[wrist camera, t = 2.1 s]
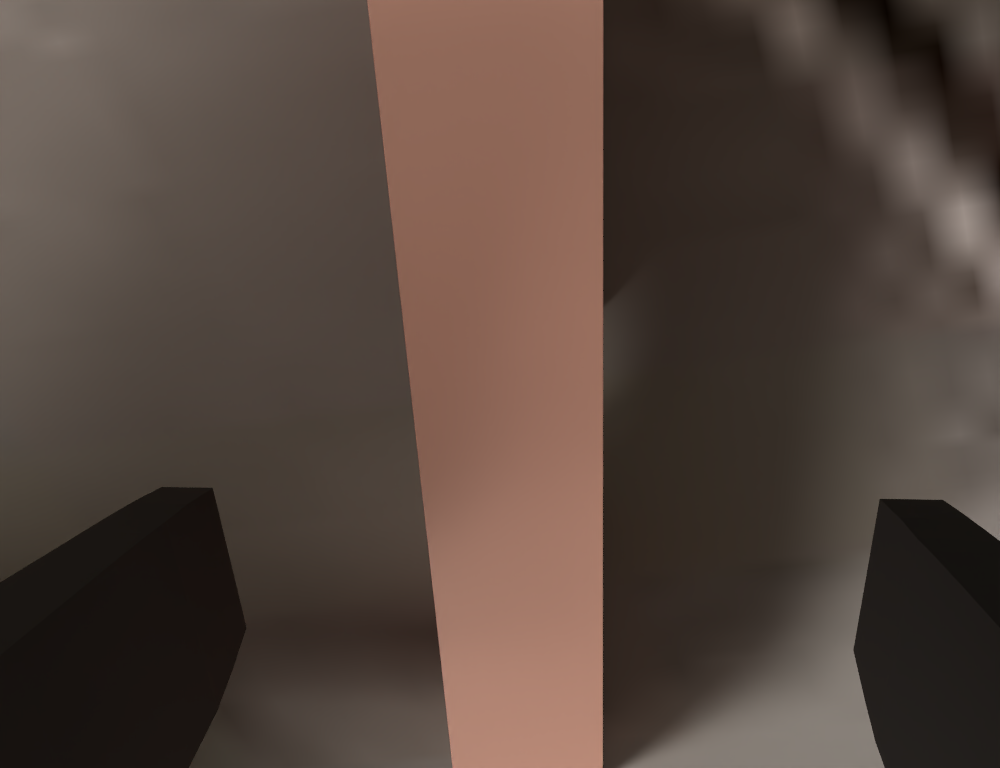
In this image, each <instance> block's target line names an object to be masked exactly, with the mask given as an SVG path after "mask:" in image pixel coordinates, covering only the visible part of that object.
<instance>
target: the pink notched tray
mask: <svg viewBox="0 0 1000 768" xmlns="http://www.w3.org/2000/svg"><path fill="white" fill-rule="evenodd" d="M367 2H368V11H369V20H370V29H371V38H372V47H373V56H374V65H375V74H376V83H377V92H378V101H379V110H380V119H381V128H382V137H383V146H384V155H385V164H386V173H387V181H388V190H389V199H390V208H391V217H392V226H393V235H394V244H395V253H396V262H397V271H398V280H399V289H400V298H401V307H402V316H403V325H404V334H405V343H406V352H407V361H408V370H409V379H410V388H411V397H412V406H413V415H414V424H415V433H416V442H417V451H418V460H419V469H420V478H421V487H422V496H423V505H424V514H425V523H426V532H427V541H428V550H429V559H430V568H431V577H432V586H433V595H434V604H435V613H436V622H437V630H438V639H439V648H440V657H441V666H442V675H443V684H444V693H445V702H446V711H447V720H448V729H449V738H450V747H451V756H452V765H453V768H603V0H367Z"/></svg>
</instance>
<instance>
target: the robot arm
mask: <svg viewBox="0 0 1000 768" xmlns="http://www.w3.org/2000/svg"><path fill="white" fill-rule="evenodd" d="M245 630H246V624H245V620H244V616H243V612H242V607H241V603H240V599H239V595H238V591H237V587H236V583H235V579H234V574H233V570H232V566H231V562H230V558H229V554H228V550H227V546H226V541H225V537H224V533H223V529H222V525H221V521H220V517H219V512H218V508H217V504H216V500H215V496H214V492H213V488H179V487H161V488H159V489H157V490H155V491H153V492H151V493H149V494H147V495H145V496H143V497H142V498H140V499H138V500H136V501H134V502H132V503H131V504H129V505H127V506H125V507H124V508H122V509H120V510H118V511H117V512H115V513H113V514H112V515H110V516H108V517H107V518H105V519H103V520H102V521H100V522H98V523H97V524H95V525H93V526H92V527H90V528H89V529H87V530H85V531H84V532H82V533H80V534H79V535H77V536H75V537H74V538H72V539H71V540H69V541H67V542H66V543H64V544H63V545H61V546H59V547H58V548H56V549H54V550H53V551H51V552H49V553H48V554H46V555H45V556H43V557H41V558H40V559H38V560H36V561H35V562H33V563H31V564H30V565H28V566H27V567H25V568H23V569H22V570H20V571H18V572H17V573H15V574H14V575H12V576H10V577H9V578H7V579H5V580H4V581H2V582H0V768H189V766H190V764H191V762H192V760H193V758H194V756H195V754H196V752H197V750H198V748H199V746H200V744H201V742H202V740H203V738H204V736H205V734H206V732H207V730H208V728H209V726H210V724H211V722H212V720H213V718H214V716H215V714H216V712H217V710H218V707H219V704H220V702H221V699H222V696H223V694H224V691H225V688H226V685H227V683H228V680H229V677H230V675H231V672H232V669H233V666H234V663H235V660H236V657H237V654H238V651H239V648H240V645H241V642H242V639H243V636H244V633H245ZM854 654H855V658H856V663H857V667H858V672H859V676H860V680H861V685H862V689H863V693H864V698H865V702H866V706H867V710H868V714H869V718H870V722H871V726H872V729H873V733H874V737H875V741H876V744H877V747H878V750H879V753H880V755H881V758H882V761H883V764H884V766H885V768H1000V541H999V540H997V539H996V538H995V537H994V536H992V535H991V534H990V533H988V532H987V531H986V530H984V529H983V528H982V527H980V526H979V525H978V524H976V523H975V522H973V521H972V520H971V519H969V518H968V517H967V516H965V515H964V514H962V513H961V512H960V511H958V510H957V509H955V508H954V507H952V506H951V505H949V504H948V503H946V502H945V501H943V500H911V499H880V501H879V507H878V513H877V518H876V524H875V530H874V536H873V541H872V547H871V553H870V559H869V564H868V570H867V576H866V582H865V587H864V593H863V599H862V605H861V610H860V616H859V622H858V628H857V633H856V639H855V645H854Z"/></svg>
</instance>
